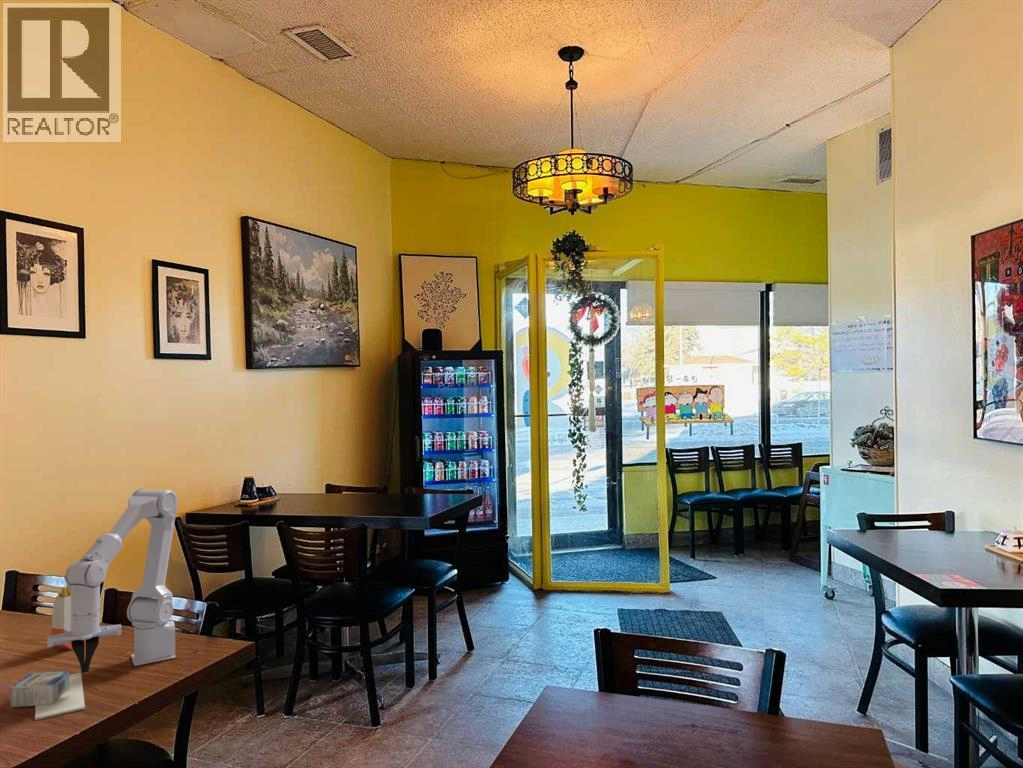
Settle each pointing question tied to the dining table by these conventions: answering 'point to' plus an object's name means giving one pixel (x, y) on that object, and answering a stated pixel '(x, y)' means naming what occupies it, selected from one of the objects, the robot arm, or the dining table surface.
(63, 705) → the cream flat slab
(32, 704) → the medicine box
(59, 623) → the french fries container
